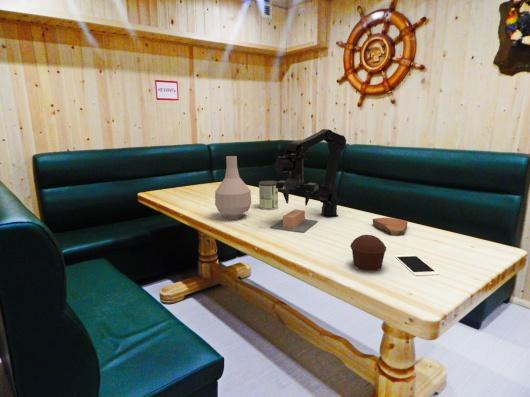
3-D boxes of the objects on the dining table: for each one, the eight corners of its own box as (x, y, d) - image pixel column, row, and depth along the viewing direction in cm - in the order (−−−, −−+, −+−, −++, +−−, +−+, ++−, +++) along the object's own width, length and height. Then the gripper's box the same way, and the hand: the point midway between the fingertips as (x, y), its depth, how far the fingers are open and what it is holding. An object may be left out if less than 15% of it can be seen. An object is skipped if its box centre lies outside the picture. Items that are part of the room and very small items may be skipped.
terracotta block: (295, 209, 168) (282, 216, 157) (304, 210, 165) (293, 217, 154) (295, 219, 169) (282, 227, 158) (304, 220, 166) (293, 228, 155)
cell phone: (415, 277, 109) (415, 275, 109) (393, 257, 125) (393, 255, 125) (439, 276, 110) (440, 274, 110) (415, 256, 125) (415, 254, 125)
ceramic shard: (369, 221, 148) (372, 217, 162) (371, 237, 148) (373, 231, 162) (407, 220, 142) (407, 215, 156) (409, 236, 143) (408, 230, 157)
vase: (209, 216, 179) (206, 156, 172) (239, 210, 189) (237, 153, 182) (227, 224, 165) (224, 159, 158) (258, 217, 175) (257, 156, 168)
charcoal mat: (286, 217, 174) (286, 216, 174) (318, 221, 166) (318, 220, 166) (270, 228, 158) (270, 227, 158) (303, 232, 151) (303, 231, 151)
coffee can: (260, 205, 199) (259, 180, 196) (278, 205, 198) (278, 180, 195) (258, 210, 189) (257, 183, 186) (277, 210, 188) (277, 184, 185)
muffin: (391, 272, 112) (393, 242, 110) (356, 274, 111) (358, 243, 109) (376, 257, 124) (378, 230, 121) (345, 259, 123) (346, 231, 120)
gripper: (269, 171, 156) (270, 206, 160) (309, 174, 148) (309, 210, 151) (280, 168, 166) (281, 201, 169) (318, 170, 157) (318, 204, 161)
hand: (296, 204), depth 162 cm, fingers open, 9 cm apart
